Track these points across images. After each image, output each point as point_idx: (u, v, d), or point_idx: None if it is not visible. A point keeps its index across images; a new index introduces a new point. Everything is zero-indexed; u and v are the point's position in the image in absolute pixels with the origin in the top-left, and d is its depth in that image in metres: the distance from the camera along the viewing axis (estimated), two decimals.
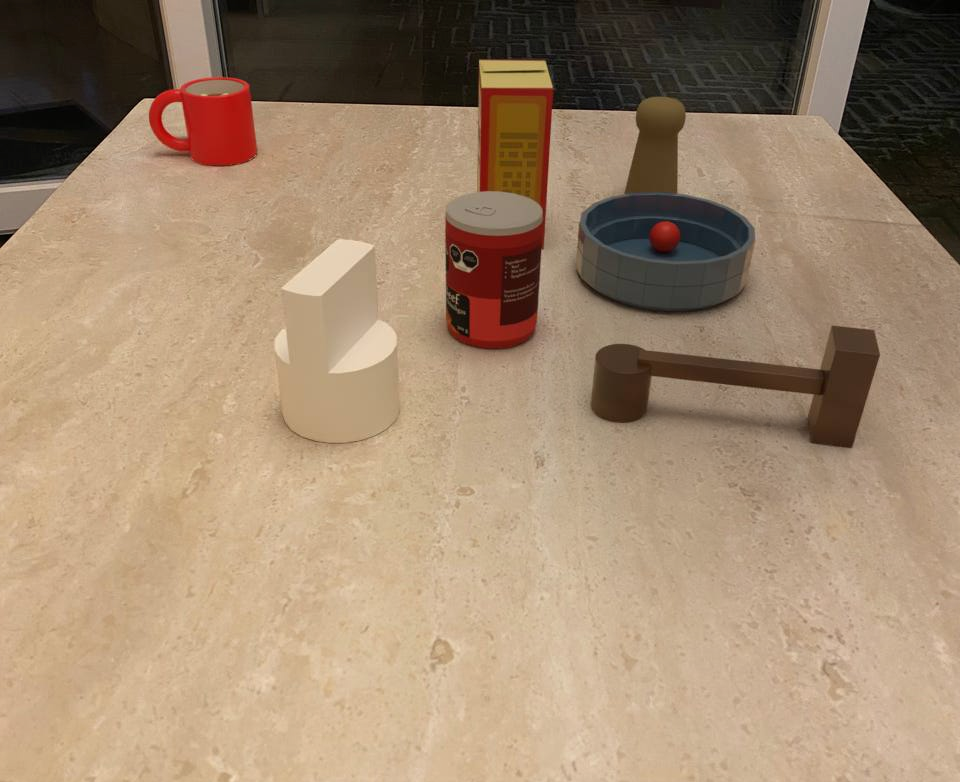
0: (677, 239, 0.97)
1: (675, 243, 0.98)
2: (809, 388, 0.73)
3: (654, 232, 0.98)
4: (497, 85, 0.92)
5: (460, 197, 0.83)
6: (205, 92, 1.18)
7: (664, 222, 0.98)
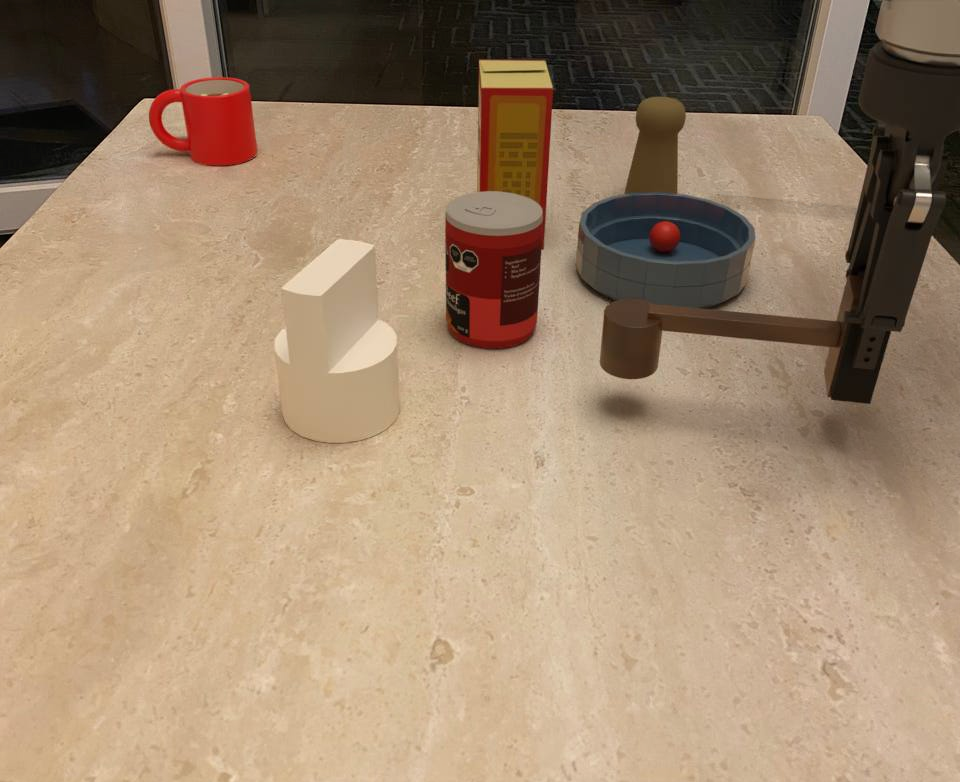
0: (677, 239, 0.97)
1: (675, 243, 0.98)
2: (825, 340, 0.71)
3: (654, 232, 0.98)
4: (497, 85, 0.92)
5: (460, 197, 0.83)
6: (205, 92, 1.18)
7: (664, 222, 0.98)
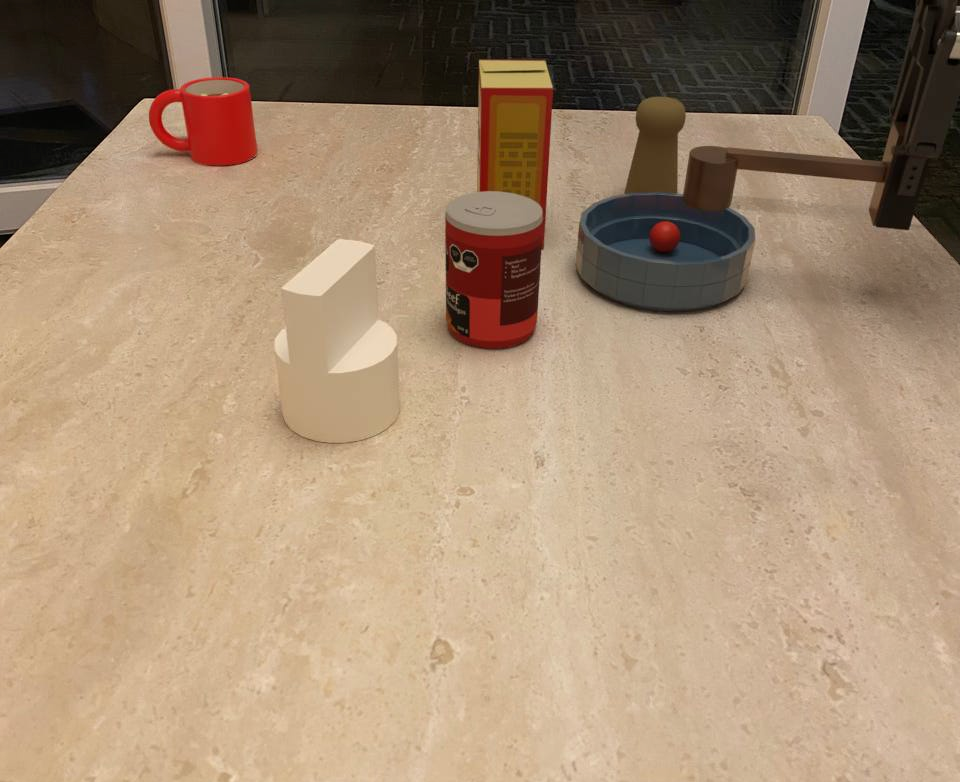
0: (677, 239, 0.97)
1: (675, 243, 0.98)
2: (873, 176, 0.87)
3: (654, 232, 0.98)
4: (497, 85, 0.92)
5: (460, 197, 0.83)
6: (205, 92, 1.18)
7: (664, 222, 0.98)
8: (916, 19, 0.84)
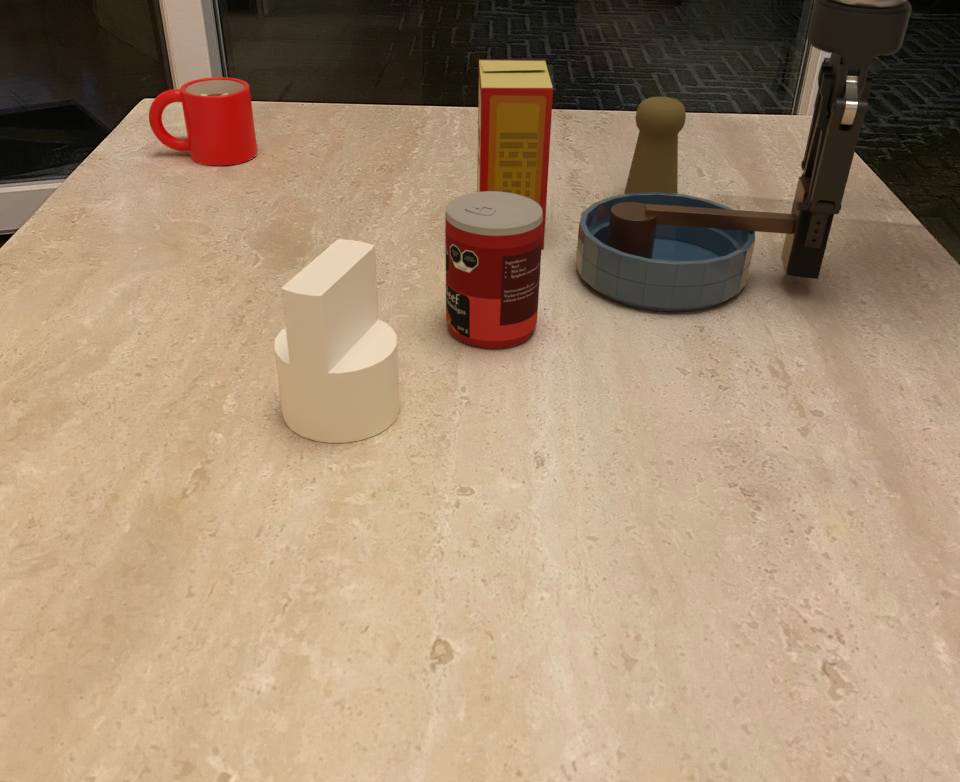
0: None
1: None
2: (783, 228, 0.92)
3: None
4: (497, 85, 0.92)
5: (460, 197, 0.83)
6: (205, 92, 1.18)
7: None
8: None
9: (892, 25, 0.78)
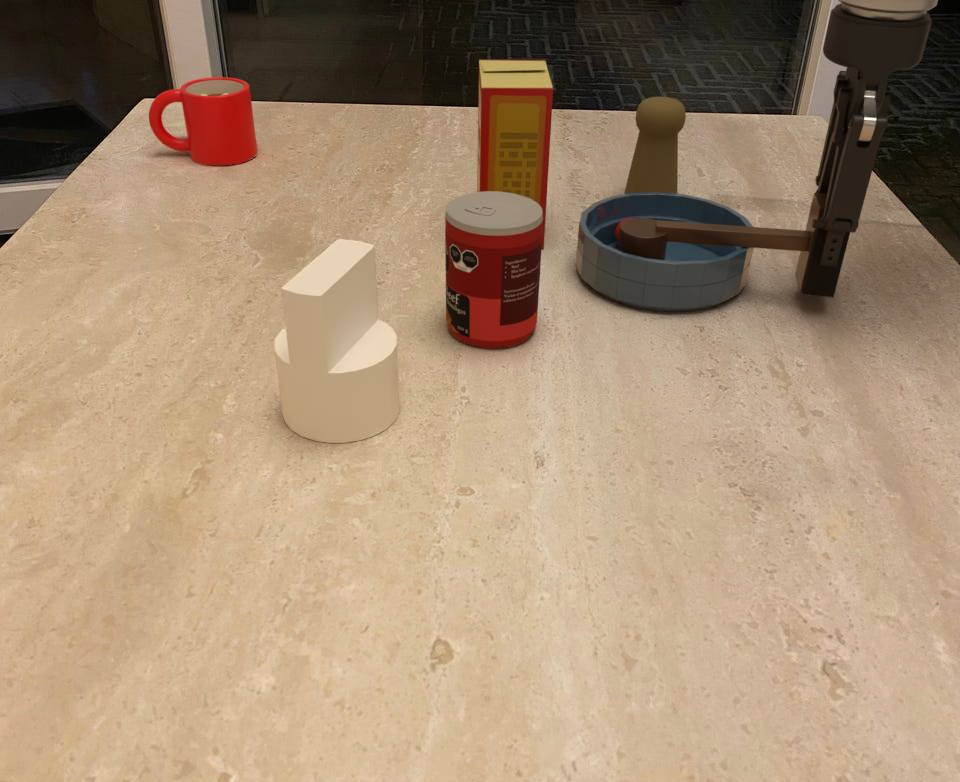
0: None
1: None
2: (797, 245, 0.89)
3: None
4: (497, 85, 0.92)
5: (460, 197, 0.83)
6: (205, 92, 1.18)
7: None
8: None
9: (911, 39, 0.75)
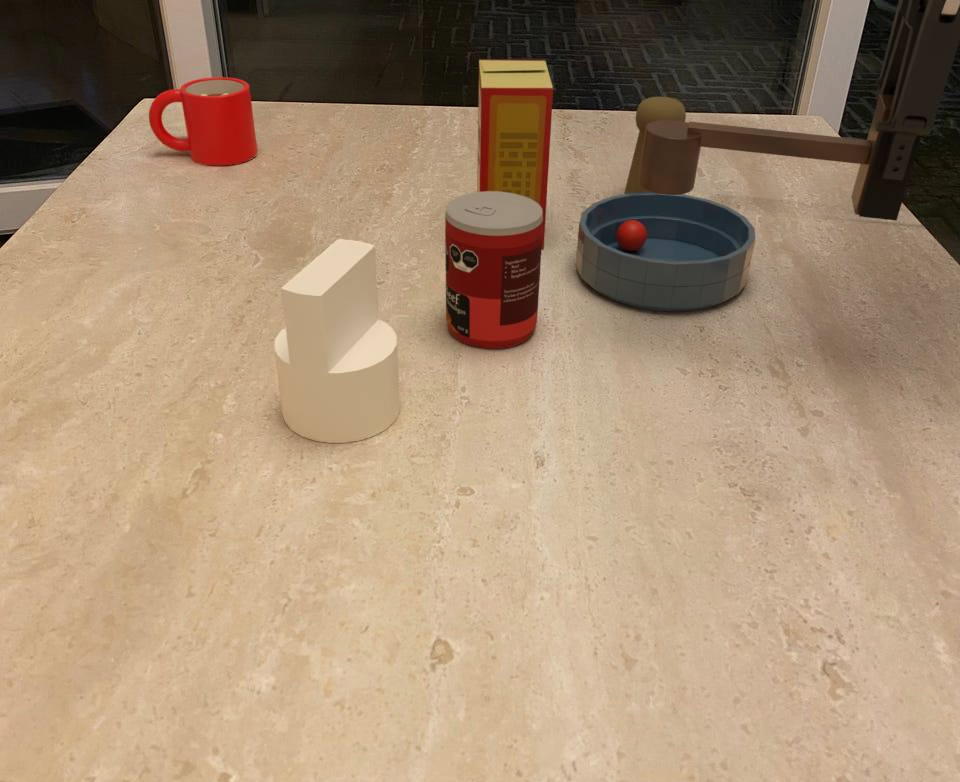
0: (633, 228, 0.97)
1: (629, 228, 0.97)
2: (856, 157, 0.75)
3: None
4: (497, 85, 0.92)
5: (460, 197, 0.83)
6: (205, 92, 1.18)
7: None
8: None
9: None
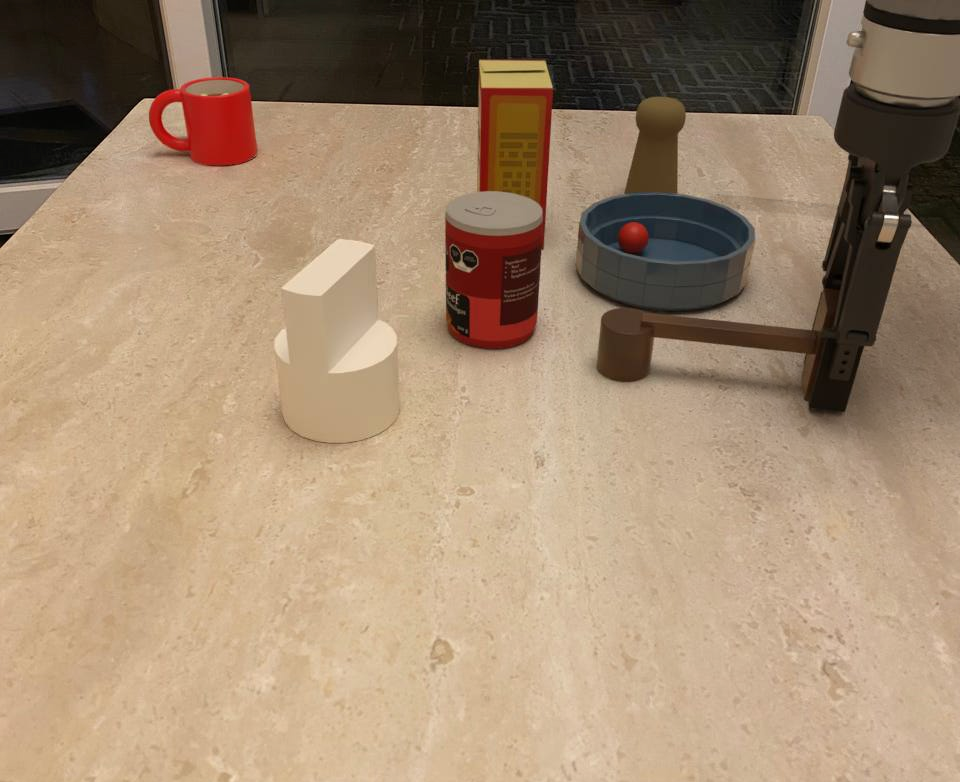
0: (636, 235, 0.97)
1: (631, 235, 0.97)
2: (802, 348, 0.78)
3: None
4: (497, 85, 0.92)
5: (460, 197, 0.83)
6: (205, 92, 1.18)
7: None
8: None
9: (938, 128, 0.64)
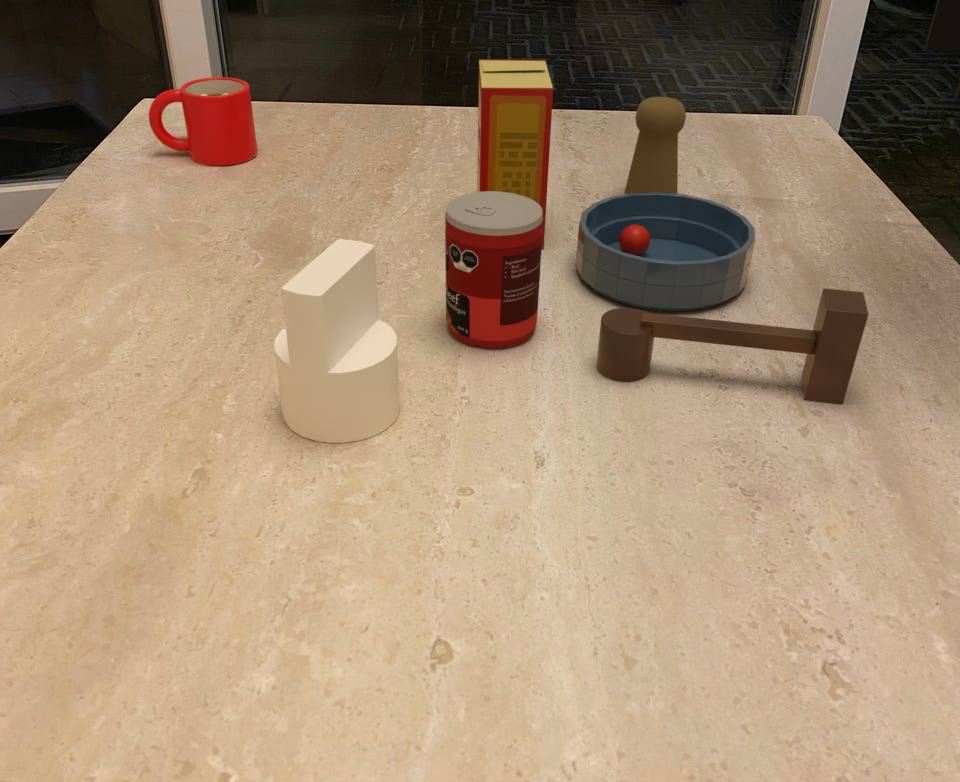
0: (637, 243, 0.96)
1: (633, 243, 0.96)
2: (802, 348, 0.78)
3: None
4: (497, 85, 0.92)
5: (460, 197, 0.83)
6: (205, 92, 1.18)
7: None
8: None
9: None
